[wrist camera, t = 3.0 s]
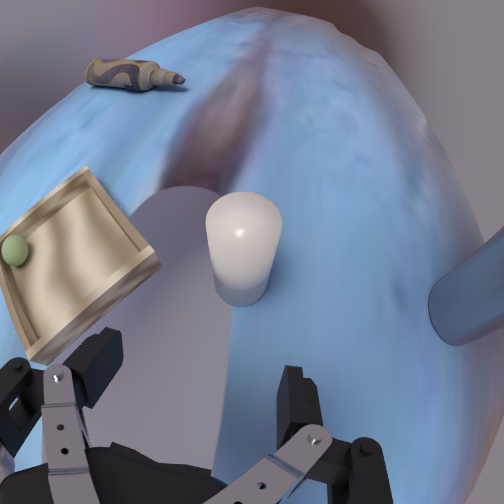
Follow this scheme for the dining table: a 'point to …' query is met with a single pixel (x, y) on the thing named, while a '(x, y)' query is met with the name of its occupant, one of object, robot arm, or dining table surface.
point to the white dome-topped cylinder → (242, 245)
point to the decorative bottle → (130, 74)
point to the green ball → (14, 250)
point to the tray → (71, 265)
